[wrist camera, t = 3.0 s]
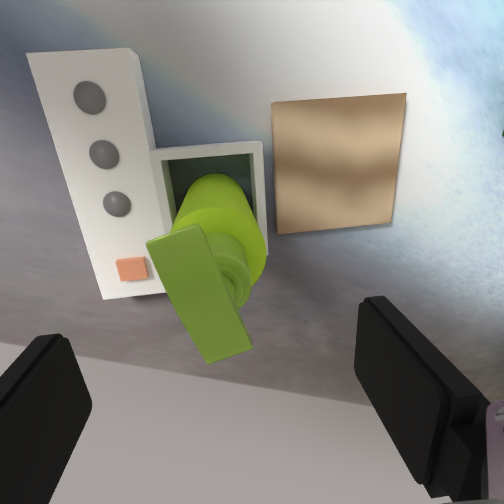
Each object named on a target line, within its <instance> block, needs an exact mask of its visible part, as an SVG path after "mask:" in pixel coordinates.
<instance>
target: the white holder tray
mask: <svg viewBox="0 0 504 504" xmlns="http://www.w3.org/2000/svg"><path fill="white" fill-rule="evenodd" d="M26 56H27V59H28V62H29V65H30V68H31V72H32V75H33V78H34V81H35V84H36V87H37V91H38V94H39V97H40V100H41V103H42V107H43V110H44V113H45V116H46V119H47V122H48V126H49V129H50V132H51V135H52V138H53V142H54V145H55V148H56V151H57V154H58V157H59V161H60V164H61V167H62V170H63V173H64V176H65V180H66V183H67V186H68V189H69V192H70V196H71V199H72V202H73V205H74V208H75V211H76V215H77V218H78V221H79V224H80V227H81V231H82V234H83V237H84V240H85V243H86V246H87V250H88V253H89V256H90V259H91V262H92V266H93V269H94V272H95V275H96V278H97V281H98V285H99V288H100V291H101V294H102V297H103V300H105V299H113V298H122V297H130V296H139V295H147V294H156V293H164V292H166V291H165V289H164V286H163V284H162V282H161V280H160V278H159V275H158V273H157V271H156V269H155V266H154V264H153V262H152V259H151V257H150V255H149V252H148V250H147V247H146V242H147V241H149V240H152V239H155V238H157V237H160V236H162V235H165V234H168V233H169V232H170V230H171V228H172V226H173V223H174V221H175V219H176V217H177V211H176V205H175V199H174V194H173V188H172V182H171V177H170V171H169V165H168V160H174V159H186V158H198V157H210V156H222V155H234V154H246V153H249V159H250V173H251V187H252V202H253V215H254V217H255V220H256V222H257V224H258V226H259V229H260V231H261V233H262V235H263V238H264V241H265V245H266V256H267V255H268V239H267V220H266V201H265V182H264V162H263V143H262V141H258V140H252V141H239V142H227V143H214V144H202V145H189V146H177V147H164V148H156V144H155V138H154V133H153V128H152V122H151V117H150V112H149V106H148V101H147V96H146V90H145V85H144V80H143V74H142V69H141V64H140V58H139V56H138V55H137V54H136V53H135V52H134V51H132V50H131V49H130V48H111V49H93V50H74V51H55V52H37V53H26Z"/></svg>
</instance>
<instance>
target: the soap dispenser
mask: <svg viewBox="0 0 504 504" xmlns="http://www.w3.org/2000/svg"><path fill="white" fill-rule="evenodd" d="M146 247H147V250H148V252H149V255H150V257H151V259H152V262H153V264H154V266H155V269H156V271H157V273H158V275H159V278H160V280H161V282H162V284H163V286H164V289H165V291H166V293H167V295H168V297H169V299H170V301H171V303H172V305H173V307H174V308H175V310H176V312H177V314H178V316H179V318H180V320H181V321H182V323H183V325H184V327H185V328H186V330H187V332H188V333H189V335H190V337H191V338H192V340H193V342H194V343H195V345H196V347H197V348H198V350H199V352H200V353H201V355H202V356H203V358H204V360H205V361H206V363H207V364H208V365H209V364H212V363H214V362H217V361H220V360H223V359H226V358H228V357H231V356H234V355H237V354H240V353H242V352H245V351H248V350H251V349H253V347H252V341H251V338H250V335H249V333H248V331H247V329H246V327H245V325H244V322H243V320H242V318H241V316H240V314H239V312H238V309H240V308H241V307H242V306H243V305H244V304H245V303H246V301H247V300H248V298H249V296H250V293H251V289H252V286H253V285H254V284H255V283H256V281H257V280H258V279H259V277H260V276H261V274H262V272H263V269H264V266H265V263H266V245H265V241H264V238H263V235H262V233H261V231H260V229H259V226H258V224H257V222H256V220H255V217H254V215H253V213H252V210H251V208H250V206H249V204H248V201H247V199H246V197H245V194H244V192H243V190H242V188H241V187H240V185H239V184H238V183H237V182H236V181H235V180H234V179H232V178H230V177H229V176H226V175H223V174H218V173H212V174H207V175H204V176H201V177H200V178H198V179H197V180H195V181H194V182H193V183H192V185H191V186H190V187H189V189H188V191H187V194H186V196H185V198H184V201H183V203H182V205H181V207H180V210H179V212H178V214H177V217H176V219H175V221H174V223H173V226H172V228H171V230H170V232H169V233H168V234H165V235H162V236H160V237H157V238H155V239H152V240H149V241H147V242H146Z"/></svg>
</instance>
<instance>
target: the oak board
mask: <svg viewBox="0 0 504 504" xmlns="http://www.w3.org/2000/svg"><path fill="white" fill-rule="evenodd" d="M406 95H407V93H399V94H384V95H370V96H356V97H342V98H328V99H313V100H299V101H285V102H273V103H271V116H272V142H273V167H274V192H275V217H276V232H277V234H288V233H297V232H307V231H316V230H325V229H335V228H344V227H354V226H363V225H373V224H382V223H391V218H392V210H393V202H394V194H395V185H396V177H397V169H398V161H399V152H400V144H401V136H402V128H403V119H404V111H405V103H406Z"/></svg>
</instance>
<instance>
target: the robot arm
mask: <svg viewBox="0 0 504 504" xmlns="http://www.w3.org/2000/svg"><path fill="white" fill-rule="evenodd" d="M354 369H355V373H356V376H357V378H358V380H359V382H360V383H361V385H362V387H363V389H364V391H365V392H366V394H367V396H368V398H369V399H370V401H371V403H372V405H373V407H374V408H375V410H376V412H377V414H378V416H379V417H380V419H381V421H382V423H383V424H384V426H385V428H386V430H387V432H388V433H389V435H390V437H391V439H392V441H393V442H394V444H395V446H396V448H397V449H398V451H399V453H400V455H401V457H402V458H403V460H404V462H405V464H406V466H407V467H408V469H409V471H410V473H411V474H412V476H413V478H414V479H415V481H416V482H417V483H418V484H423V485H424V487H425V488H426V490H427V492H428V494H429V496H430V497H431V498H436V497H443V496H449V497H450V498H451V500H452V501H453V502H451V503H444V504H504V400H500V401H496V402H492V403H490V402H489V401H488V400H487V399H486V398H485V397H484V396H483V395H482V393H481V392H480V391H479V390H478V389H477V388H476V387H475V386H474V385H473V384H472V383H471V382H470V381H469V380H468V379H467V378H466V377H465V376H464V375H463V374H462V373H461V372H460V371H459V370H458V369H457V368H456V367H455V366H454V365H453V364H452V363H451V362H450V361H449V360H448V359H447V358H446V357H445V356H444V355H443V354H442V353H441V352H440V351H439V350H438V349H437V348H436V347H435V346H434V345H433V344H432V343H431V342H430V341H429V340H428V339H427V338H426V337H425V336H424V335H423V334H422V333H421V332H420V331H419V330H418V329H417V328H416V327H415V326H414V325H413V324H412V323H411V322H410V321H409V320H408V319H407V318H406V317H405V316H404V315H403V314H402V313H401V312H400V311H399V310H398V309H397V308H396V307H395V306H394V305H393V304H392V303H391V302H390V301H389V300H388V299H387V298H386V297H384V296H375V297H366V298H365V299H364V301H363V302H361V303H360V304H359V310H358V322H357V335H356V348H355V361H354ZM91 409H92V400H91V397H90V394H89V392H88V389H87V386H86V384H85V381H84V379H83V376H82V373H81V371H80V368H79V365H78V363H77V360H76V358H75V355H74V352H73V350H72V347H71V344H70V342H69V340H68V339H67V338H63V336H62V335H61V334H50V335H42V336H37V337H36V338H35V339H34V340H33V341H32V342H31V343H30V344H29V346H28V347H27V348H26V349H25V350H24V351H23V352H22V353H21V354H20V356H19V357H18V358H17V359H16V360H15V361H14V362H13V363H12V364H11V366H10V367H9V368H8V369H7V370H6V371H5V372H4V374H3V375H2V376H1V377H0V504H49V502H50V500H51V497H52V495H53V493H54V491H55V489H56V487H57V484H58V482H59V480H60V478H61V476H62V474H63V471H64V469H65V467H66V465H67V463H68V461H69V459H70V456H71V454H72V452H73V450H74V448H75V446H76V443H77V441H78V439H79V437H80V435H81V432H82V430H83V428H84V426H85V424H86V422H87V420H88V417H89V415H90V412H91Z"/></svg>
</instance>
